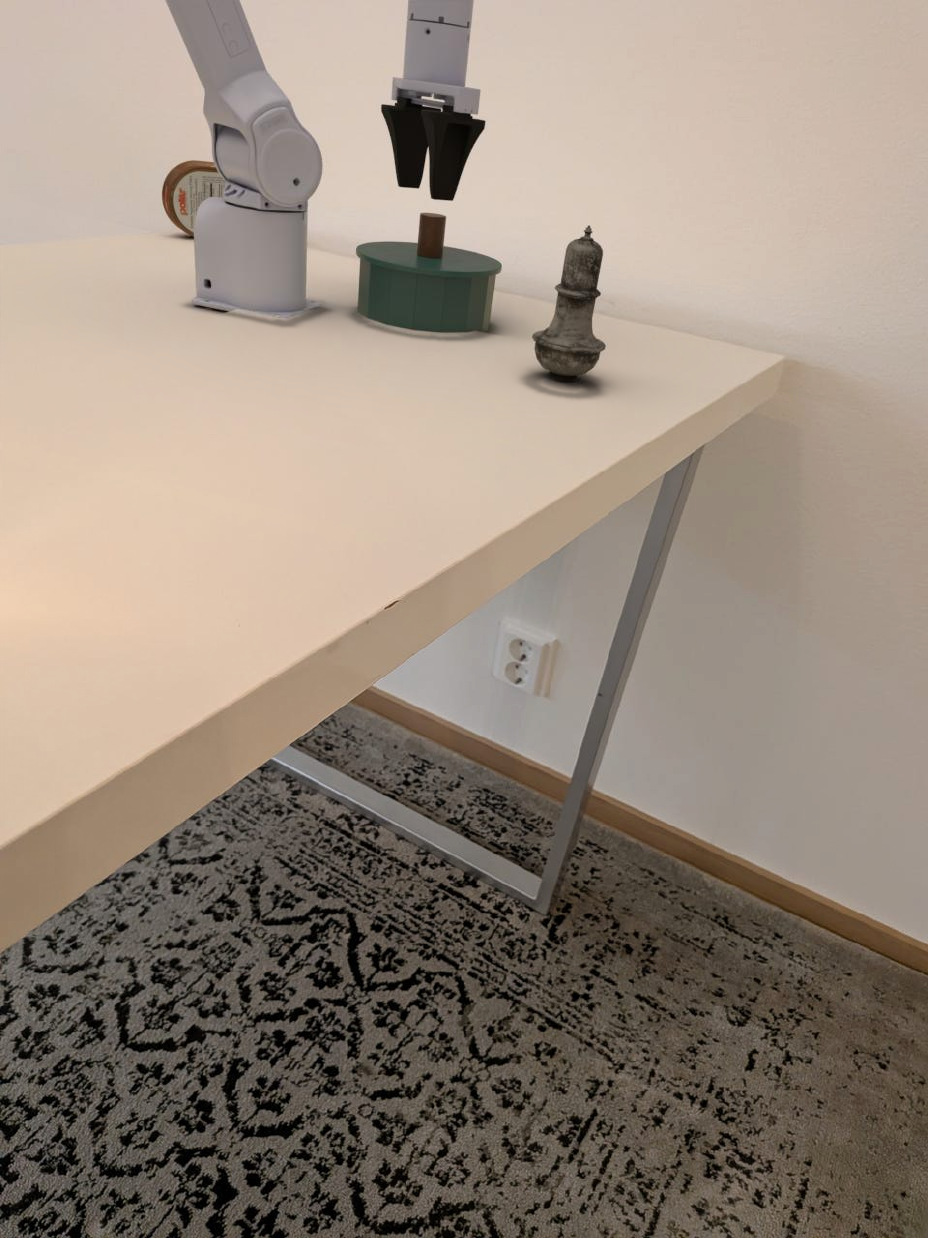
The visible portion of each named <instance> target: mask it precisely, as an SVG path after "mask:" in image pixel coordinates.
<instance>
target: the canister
mask: <svg viewBox="0 0 928 1238" xmlns="http://www.w3.org/2000/svg"><path fill="white" fill-rule="evenodd" d="M496 277H497V274H496V275H493V276H488V277H475V278H460V277H442V276H432V275H423V274H416V273H410V272H404V271H399V270H394V269H389V268H385V267H381V266H378V265H375V264H372V263H369V262H366V261H364V260H362V259H360V258H359V275H358V294H357V296H358V297H357V312H358V313H359V314H360V315H362V316H364V317H365V318H366V319H369V320H371V321H375V322H377V323H380V324H383V325H387V326H390V327H391V326H392V327H397V328H402V329H407V330H411V331H420V332H429V333H430V332H431V333H441V334H445V333H446V334H447V333H448V334H449V333H469V332H480V333H487V331H488V330H489V327H490V324H491V316H492V309H493V300H494V293H495V292H494V291H495V284H496Z"/></svg>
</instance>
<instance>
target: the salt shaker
mask: <svg viewBox="0 0 928 1238" xmlns="http://www.w3.org/2000/svg"><path fill="white" fill-rule="evenodd" d="M592 230H593V229H592V227H591V225H587V226H586V227H585V229H583V232H584V235H582V236H581V237H579V238H576V239H573V240H572V241H570V242H569V243H568V244H567V247H566V248H565V254H564V258H563V259H564V261H563V266H562V271H561V279H560V283H557V284H556V285H554V290H555V291H556V292H557V296H556V302H555V310H554V314H553V317H552V319H551V321H550V324H549V326H548V327H546V328H545V329H542V330H538V331H535V332H534V333H533V334H532V335H531V338H532V340H533V342H534V348H533V349H534V354H535V357H536V360H537V362H538V363H539V365H540V366H541V367H542V368H543V369H544V370H547V371H548V378H549V379H551V380H553V381H556V382H560V383H575V382H576V381H577V380H578V376H583V375H586V374H587V373H588V372H590V371H591V370H593V369H594V368H595V366H597V363H598V362H599V360H600V356H601V353H602V352H603V351H605V350H606V347H607V346H606V344H605V342H604V341H603V340H601V339H599V338H596V336H595V334H594V330H593V317H594V316H593V315H594V311H595V306H596V299H597V298H599V297H601V295H602V294H601V293H602V292H601V291H600V290H598V284H599V278H600V273H601V268H602V263H603V258H604V250H603V247H602V246H601V244H600V243H599V242H597V241H595V239H594V238H593V237H591V236H592V235H591V234H592V233H593V231H592Z"/></svg>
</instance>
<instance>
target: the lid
mask: <svg viewBox="0 0 928 1238" xmlns="http://www.w3.org/2000/svg"><path fill="white" fill-rule="evenodd" d="M418 221H419V223H418V234H417V242H410V241H387V240H385V241H370V242H365V243H361V244H359V245H357V246H356V248H355V254H356V257H358V258H359V260H360V259H362V260H364V261H366V262H369V263H372V264H375V265H378V266H381V267H385V268H389V269H394V270H399V271H404V272H410V273H416V274H423V275H432V276H442V277H460V278H475V277H488V276H493V275H496V276H497V275H499V274H500V273H501V272H502V267H503V265H502V262H500V261H499V260H497V259H495V258H493V257H491V256H489V255H486V254H483V253H479V252H476V251H472V250H467V249H463V248H457V247H451V246H445V237H446V236H445V234H446V223H447V216H446V215H444V214H441V213H434V212H420V213H419V220H418Z"/></svg>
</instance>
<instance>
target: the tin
mask: <svg viewBox="0 0 928 1238" xmlns="http://www.w3.org/2000/svg"><path fill="white" fill-rule="evenodd" d="M225 185H226V181H225V180H224V179H223V178H222V177H221V175H220V174H219V172H218V171H217V169H216V166H215V164H214V161H206V160H195V159H194V160H186V161H183V162H180V163H178V164H177V165H176V166H174V167H173V168H171V170H170V171H169V172H168V173H167V175H166V177H165V179H164V181H163V184H162V189H161V200H162V206H163V209H164V213H165V214H166V216H167V218H169V220H170V221H171V223H172V224H173V225H174V226H176V228H178V229H179V230H180V231H182V232H183V233H185V234H187V235H189V236H191V237H194V224H195V218H196V214H197V211H198V208H199V206H200V205H201V203H202V202H203V201H204V200H206V199H207V198H209V197H221V198H224V197H223V192H224V188H225Z"/></svg>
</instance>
